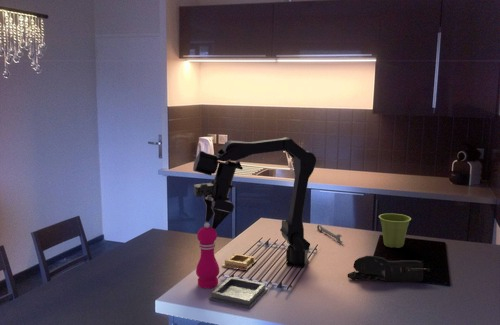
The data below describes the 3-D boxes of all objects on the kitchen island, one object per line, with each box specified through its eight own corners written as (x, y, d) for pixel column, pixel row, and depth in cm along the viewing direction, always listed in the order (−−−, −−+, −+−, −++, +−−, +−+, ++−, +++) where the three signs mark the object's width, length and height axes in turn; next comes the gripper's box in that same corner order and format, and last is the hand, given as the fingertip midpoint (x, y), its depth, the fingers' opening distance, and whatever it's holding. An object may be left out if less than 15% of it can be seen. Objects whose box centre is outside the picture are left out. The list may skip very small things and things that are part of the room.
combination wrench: (316, 223, 193) (340, 236, 174) (319, 222, 193) (343, 235, 174) (316, 231, 193) (340, 245, 175) (319, 231, 194) (343, 245, 175)
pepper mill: (215, 290, 135) (215, 226, 132) (193, 288, 137) (191, 225, 134) (222, 280, 142) (221, 219, 139) (200, 278, 144) (199, 218, 141)
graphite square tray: (267, 289, 136) (267, 283, 135) (249, 308, 124) (249, 301, 124) (229, 282, 141) (229, 276, 141) (208, 299, 129) (208, 292, 129)
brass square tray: (256, 261, 158) (256, 256, 157) (245, 271, 149) (245, 265, 149) (233, 257, 161) (233, 252, 161) (222, 266, 153) (222, 260, 153)
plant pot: (412, 243, 176) (414, 215, 174) (405, 252, 166) (406, 223, 164) (382, 238, 182) (383, 211, 180) (373, 246, 172) (374, 218, 170)
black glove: (429, 284, 141) (431, 260, 140) (350, 284, 140) (352, 259, 138) (419, 276, 148) (421, 252, 146) (345, 275, 146) (346, 251, 145)
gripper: (194, 168, 150) (181, 212, 151) (206, 177, 133) (191, 227, 133) (225, 176, 154) (212, 219, 155) (240, 186, 136) (226, 235, 137)
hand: (209, 225), depth 145 cm, fingers open, 9 cm apart
